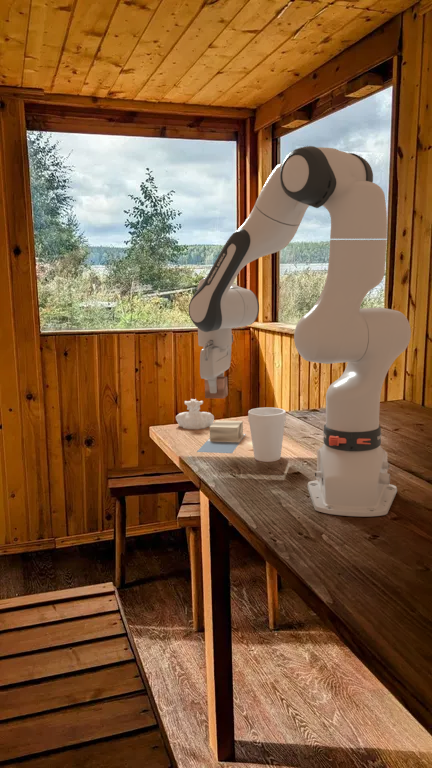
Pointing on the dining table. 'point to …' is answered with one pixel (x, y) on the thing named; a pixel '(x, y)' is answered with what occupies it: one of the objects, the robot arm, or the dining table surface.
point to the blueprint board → (220, 446)
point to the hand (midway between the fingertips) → (216, 390)
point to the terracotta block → (221, 388)
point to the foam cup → (267, 432)
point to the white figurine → (194, 416)
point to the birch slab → (226, 430)
